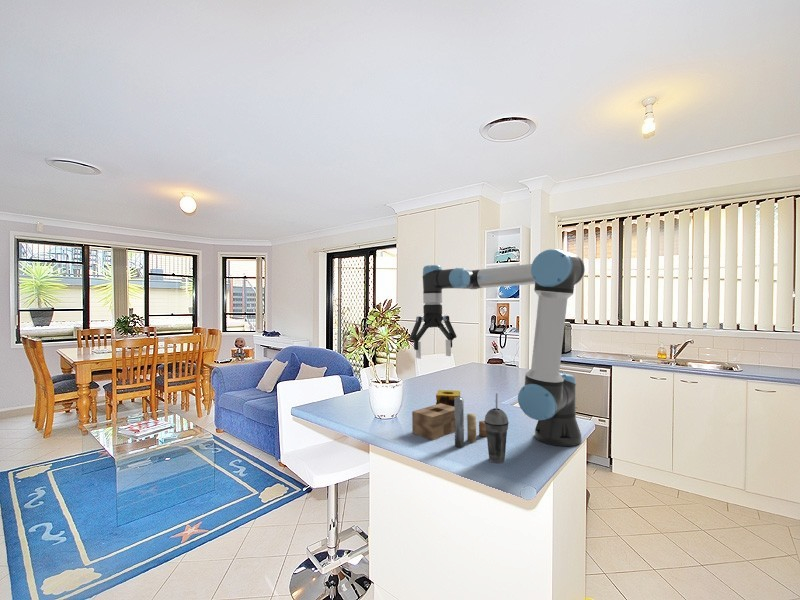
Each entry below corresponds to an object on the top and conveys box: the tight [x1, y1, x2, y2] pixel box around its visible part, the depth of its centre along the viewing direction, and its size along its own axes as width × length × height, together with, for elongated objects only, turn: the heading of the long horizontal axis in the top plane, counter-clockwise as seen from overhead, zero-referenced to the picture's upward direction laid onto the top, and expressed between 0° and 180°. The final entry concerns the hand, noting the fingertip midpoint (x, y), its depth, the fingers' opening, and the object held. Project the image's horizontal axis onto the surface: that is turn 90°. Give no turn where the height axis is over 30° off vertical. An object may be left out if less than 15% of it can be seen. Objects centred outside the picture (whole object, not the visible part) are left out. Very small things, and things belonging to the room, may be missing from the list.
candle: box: [435, 389, 461, 406], centre depth 163 cm, size 10×10×10 cm
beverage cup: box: [483, 393, 510, 464], centre depth 118 cm, size 7×7×20 cm
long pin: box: [454, 396, 465, 449], centre depth 130 cm, size 3×3×16 cm
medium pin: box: [466, 413, 477, 443], centre depth 134 cm, size 3×3×9 cm
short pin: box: [478, 420, 487, 438], centre depth 139 cm, size 3×3×5 cm
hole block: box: [411, 403, 455, 441], centre depth 144 cm, size 10×16×8 cm, turn 134°
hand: (433, 357), depth 155 cm, fingers open, 13 cm apart
